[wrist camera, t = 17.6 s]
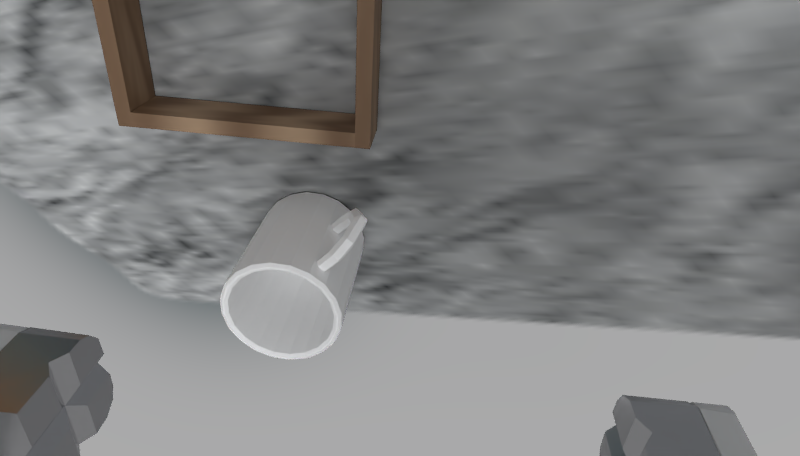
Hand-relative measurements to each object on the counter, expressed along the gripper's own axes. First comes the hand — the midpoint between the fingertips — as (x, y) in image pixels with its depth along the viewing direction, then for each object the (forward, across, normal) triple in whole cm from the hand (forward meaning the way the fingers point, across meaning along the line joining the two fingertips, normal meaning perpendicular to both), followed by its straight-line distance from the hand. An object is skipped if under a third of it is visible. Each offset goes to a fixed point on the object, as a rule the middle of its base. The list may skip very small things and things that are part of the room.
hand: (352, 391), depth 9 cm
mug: (+31, +7, +16) cm, 36 cm away
